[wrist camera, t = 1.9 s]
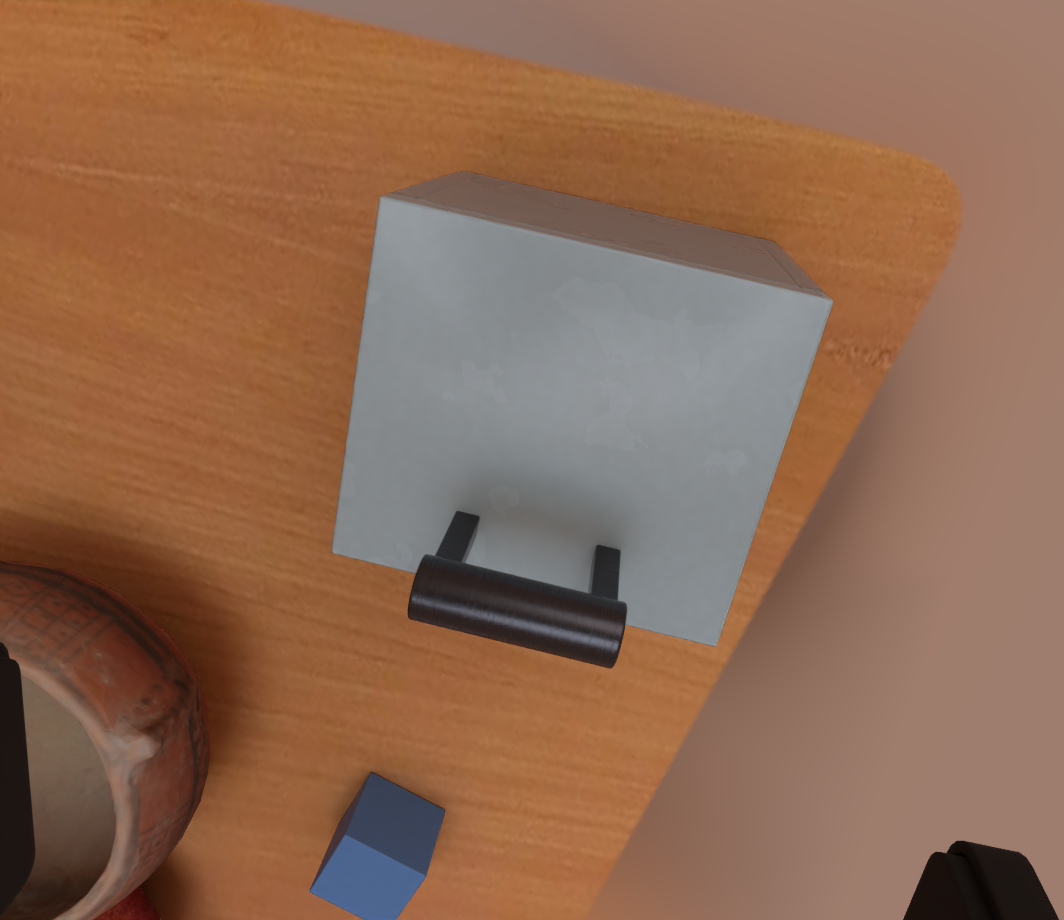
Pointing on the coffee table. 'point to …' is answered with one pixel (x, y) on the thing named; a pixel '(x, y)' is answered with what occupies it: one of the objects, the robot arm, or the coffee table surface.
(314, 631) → the coffee table surface
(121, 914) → the fruit
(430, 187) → the freezer
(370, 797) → the blue cube
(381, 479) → the freezer lid
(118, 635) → the bowl
